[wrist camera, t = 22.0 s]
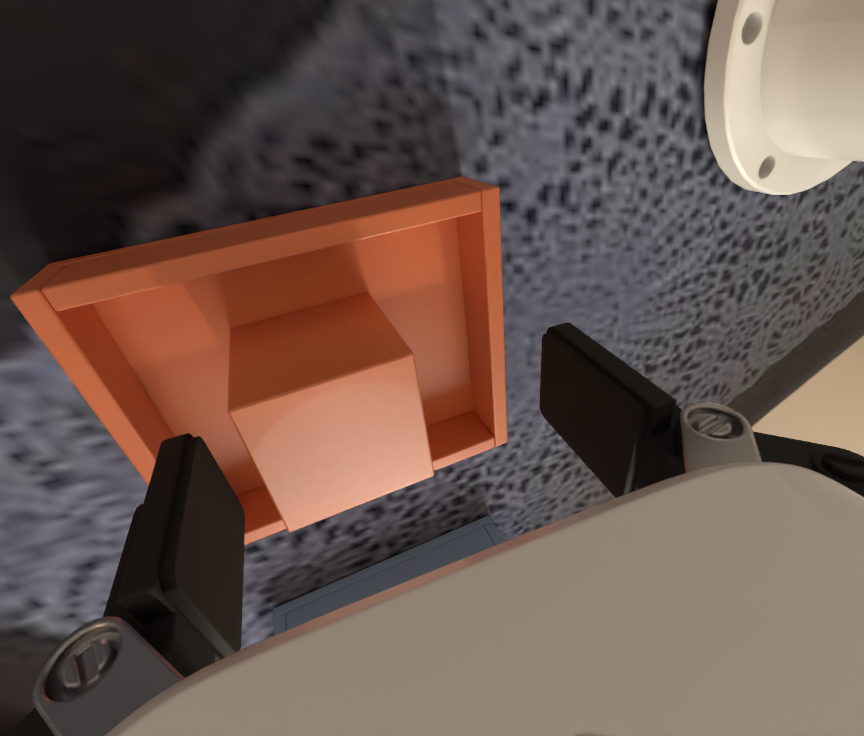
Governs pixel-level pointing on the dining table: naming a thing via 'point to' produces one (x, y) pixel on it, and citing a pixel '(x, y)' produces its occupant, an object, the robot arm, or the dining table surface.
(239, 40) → the dining table surface
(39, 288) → the terracotta tray
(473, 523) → the blue tray
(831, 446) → the robot arm
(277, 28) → the dining table surface
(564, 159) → the dining table surface
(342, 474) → the terracotta block
